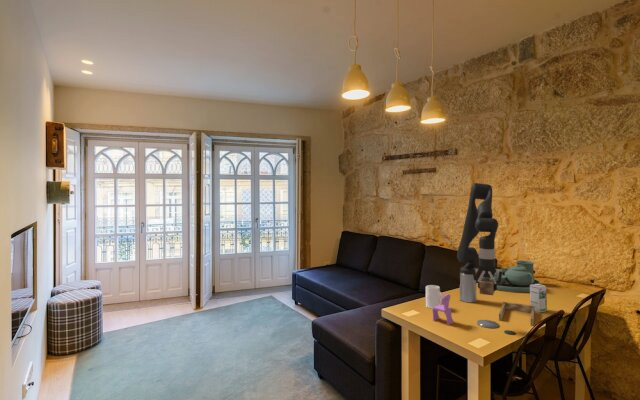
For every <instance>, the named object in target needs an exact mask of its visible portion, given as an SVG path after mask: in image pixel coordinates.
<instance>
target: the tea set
mask: <svg viewBox="0 0 640 400" xmlns="http://www.w3.org/2000/svg"><path fill="white" fill-rule="evenodd" d="M515 263H516V265H513V266H510V265H507V266H506V268H500V269H499V268H496V270H498V271H502V278H501V282H500V283H497V290H496V291H501V292H502V291H503V292H510V293H530V285H533V284H541V285H543V283H542V282H540V281H539V280H537V279H535V276H534V264H535V262H534V261H531V260H525V259H523V260H516V262H515ZM494 276H495V279H496V281H497V280H498V277H499V275H498V274H497V272H496V273H495V274H494ZM482 280H492V279H491V277H490V278H489V277H483V278H482ZM492 281H493V280H492Z"/></svg>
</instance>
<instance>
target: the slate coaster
mask: <svg viewBox="0 0 640 400" xmlns="http://www.w3.org/2000/svg"><path fill="white" fill-rule="evenodd" d="M476 325H478V326H479V327H482V328H487V329H498V328H499V323H498V322H496V321H493V320H490V319H479V320H477V321H476Z"/></svg>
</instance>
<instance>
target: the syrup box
mask: <svg viewBox="0 0 640 400" xmlns="http://www.w3.org/2000/svg"><path fill="white" fill-rule="evenodd" d="M529 298H530V299H529V300H530V301H529V302H530V305H529V306H534V311H535V312H536V313H545V312H547V311H548V308H547V307H548V305H547V304H548V301H547V300H548V299H547V286H546V285H544V284H542V285H541V284H533V285H530V292H529Z"/></svg>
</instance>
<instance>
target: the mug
mask: <svg viewBox="0 0 640 400" xmlns="http://www.w3.org/2000/svg"><path fill="white" fill-rule="evenodd" d="M444 296H445V295H444V294H443V293H442V292H441V288H440V286H439V285H435V284H429V285H426V286H425V296H424V297H425V307H426V308H427V307H428V308H427V309H430V308H431V309H432V310H433V307H436V306H438V305H443V304H441V300H442V298H443V297H444ZM443 306H444V305H443ZM431 309H430V310H431Z"/></svg>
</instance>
